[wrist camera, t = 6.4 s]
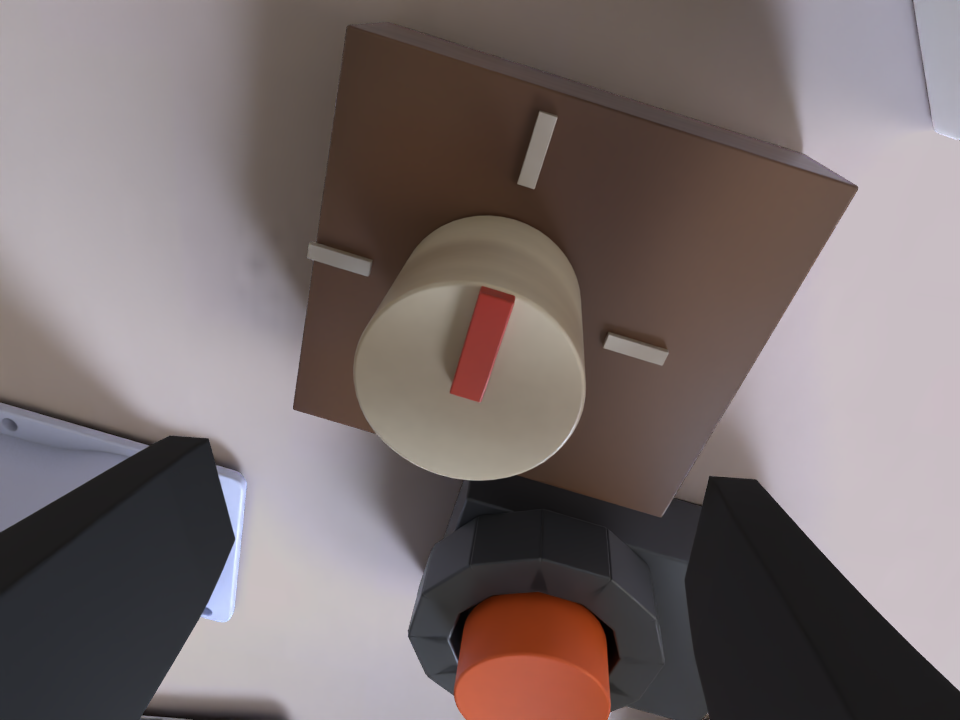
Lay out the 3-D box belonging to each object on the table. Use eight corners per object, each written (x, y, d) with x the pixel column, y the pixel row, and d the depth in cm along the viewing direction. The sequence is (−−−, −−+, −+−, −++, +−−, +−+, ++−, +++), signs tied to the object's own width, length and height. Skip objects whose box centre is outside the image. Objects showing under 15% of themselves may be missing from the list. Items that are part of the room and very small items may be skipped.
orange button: (449, 658, 18) (437, 724, 17) (485, 571, 16) (476, 636, 15) (577, 695, 18) (578, 763, 17) (628, 613, 16) (636, 682, 15)
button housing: (416, 578, 23) (386, 695, 19) (467, 424, 19) (443, 530, 15) (683, 655, 23) (707, 785, 19) (785, 518, 19) (841, 645, 15)
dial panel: (326, 352, 18) (285, 412, 16) (383, 19, 14) (338, 22, 11) (648, 448, 19) (662, 523, 16) (806, 154, 14) (864, 189, 11)
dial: (546, 401, 15) (541, 518, 11) (385, 352, 14) (330, 457, 11) (608, 247, 13) (625, 333, 9) (421, 189, 12) (368, 256, 9)
